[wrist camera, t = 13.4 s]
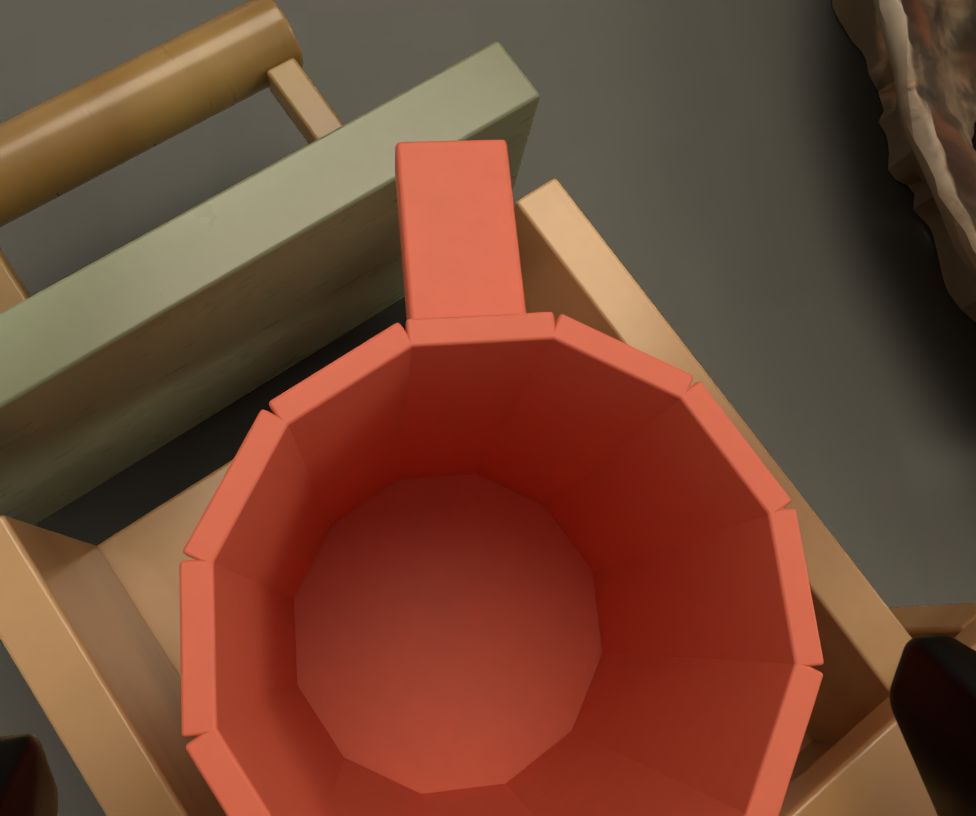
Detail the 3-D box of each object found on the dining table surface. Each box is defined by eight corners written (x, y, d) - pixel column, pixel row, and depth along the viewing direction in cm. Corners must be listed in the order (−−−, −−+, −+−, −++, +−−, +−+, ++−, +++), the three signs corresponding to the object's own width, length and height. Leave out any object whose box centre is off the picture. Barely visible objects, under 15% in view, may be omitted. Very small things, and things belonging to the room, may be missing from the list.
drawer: (-128, 314, 17) (-342, 176, 12) (361, 55, 20) (354, -145, 15) (386, 1151, 14) (389, 1422, 9) (863, 722, 17) (1063, 757, 12)
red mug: (626, 779, 15) (874, 923, 8) (288, 823, 15) (182, 1030, 7) (569, 332, 17) (719, 87, 10) (269, 348, 17) (173, 96, 9)
